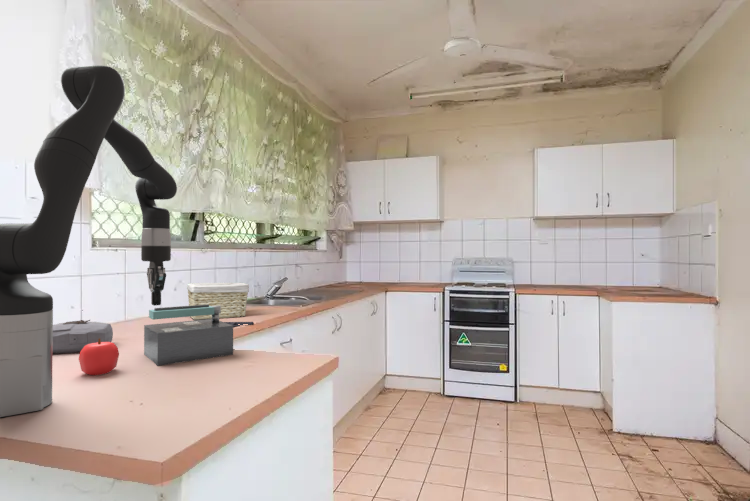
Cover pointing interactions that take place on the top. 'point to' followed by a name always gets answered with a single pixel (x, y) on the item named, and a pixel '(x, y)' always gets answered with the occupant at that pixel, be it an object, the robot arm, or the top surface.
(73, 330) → the small grey backpack
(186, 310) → the bar
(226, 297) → the storage basket
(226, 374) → the top surface
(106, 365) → the apple
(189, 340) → the box
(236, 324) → the squeegee
